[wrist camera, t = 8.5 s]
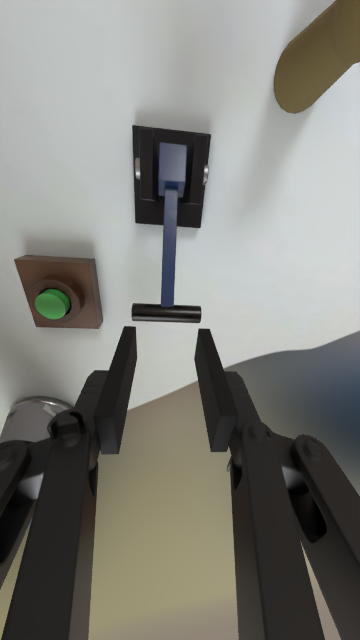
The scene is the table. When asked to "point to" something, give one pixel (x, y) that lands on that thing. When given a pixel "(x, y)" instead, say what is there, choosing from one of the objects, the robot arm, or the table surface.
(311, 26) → the tan pawn
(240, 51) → the table surface
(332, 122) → the table surface
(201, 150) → the lever bracket
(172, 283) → the lever
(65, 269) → the switch block
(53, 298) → the green button
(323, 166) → the table surface
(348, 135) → the table surface
